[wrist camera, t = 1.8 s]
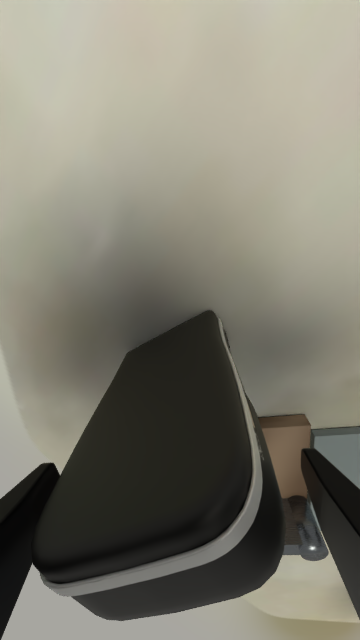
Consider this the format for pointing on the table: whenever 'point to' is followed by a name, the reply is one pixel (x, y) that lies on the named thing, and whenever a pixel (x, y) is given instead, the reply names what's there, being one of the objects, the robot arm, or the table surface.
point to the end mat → (339, 452)
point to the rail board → (287, 450)
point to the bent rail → (302, 530)
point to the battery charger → (165, 487)
